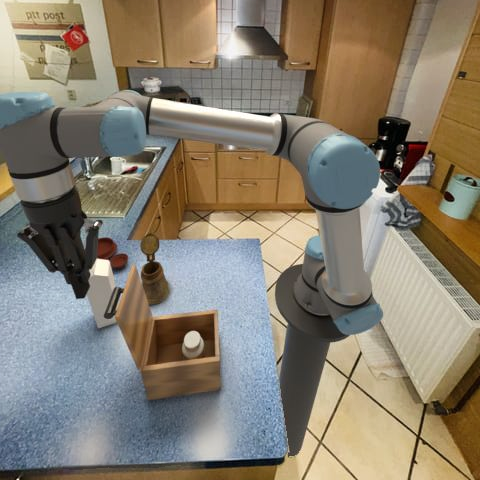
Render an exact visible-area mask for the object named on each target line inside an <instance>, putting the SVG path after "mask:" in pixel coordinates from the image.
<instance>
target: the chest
mask: <svg viewBox="0 0 480 480" xmlns="http://www.w3.org/2000/svg"><path fill="white" fill-rule="evenodd" d="M218 311H219V310H218V309H209V310H201V311H200V310H199V311H192V312H182V313H174V314H173V313H172V314H165V315H155V316H153V315H152V320H151V325H150V331H149V336H148V341H147V346H146V351H145V356H144V361H143V366H142V370H139V372H140V375H141V380H142V383H143V387H144V391H145V394H146V399H147V401H153V400H154V401H155V400H159V399H167V398H173V397H180V396H187V395H193V394H200V393H207V392H213V391H214V392H215V391H219V390H222V383H221V381H222V380H221V354H220V353H221V352H220V333H219V332H220V331H219V312H218ZM190 331H196V332H198V333H199V334H200V337H201V338H202V339H203V342H204V351H205V358H200V359H193V360H185V361H184V359H183V352H182V345H183V343H184V338H185V336H186V334H187V333H189V332H190Z"/></svg>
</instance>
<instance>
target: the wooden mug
mask: <svg viewBox="0 0 480 480" xmlns="http://www.w3.org/2000/svg"><path fill="white" fill-rule="evenodd" d="M160 243H161V242H160V239H159V237H158V236H157V235H155V234H153V233H151V232H147V234H146V235H145V236H143V237H142V238H141V240H140V244H139V245H140V251H141V254H143V255H145V256H146V263H144V264H143V265H142V267H141V271H140V279H141V282H142V285H143V288H144V291H145V294H146V297H147V300H148V303H149V305H157V304H160V303H162V302H163V301H165V300H166V299H167V297H169V294H170V291H171V290H170V289H171V288H170V284H169V282H168V280H167V279H166V276H165V273H164V267H163V265H162V264H161V262H159V261H157V260H156V253H157V252H158V251H159V249H160V245H161V244H160Z"/></svg>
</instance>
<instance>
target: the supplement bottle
mask: <svg viewBox="0 0 480 480" xmlns="http://www.w3.org/2000/svg"><path fill="white" fill-rule="evenodd" d="M182 352H183V359H184V361H185V360H193V359H200V358H205V351H204V342H203V339H202V338H201V337H200V334H199V333H198V332H196V331H190V332H189V333H187V334H186V336H185V338H184V343H183V345H182Z"/></svg>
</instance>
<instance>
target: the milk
mask: <svg viewBox="0 0 480 480" xmlns="http://www.w3.org/2000/svg"><path fill="white" fill-rule="evenodd" d="M89 271H90V274H91V276H90V278H89V280H88V281H89V284H90V288H89V290H88V292H87V294H86V297H87V301H88V303H89V306H90V309H91V311H92V312H91V313H92V315H93V318H94V320H95V324H96V326H97V329H101V328H104V327H108V326H110V325H114V324H118V323H117V321H116V319H115V316H113V318H111V319H106V318H104V313H105V311H106V308H107V305H108V303H109V300H110V297H111V295H112V292H113V289H114V288H115V287H117V284H116V280H115V277H114V273H113V268H112V266H111V265H110V260H109V259H106V260H103V259H96V261H95V263H94V265H93V267H92V269H90V270H89ZM120 300H121V298H119V301H118V304H117V307H116V310H117V309H118V306H119V303H120Z"/></svg>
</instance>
